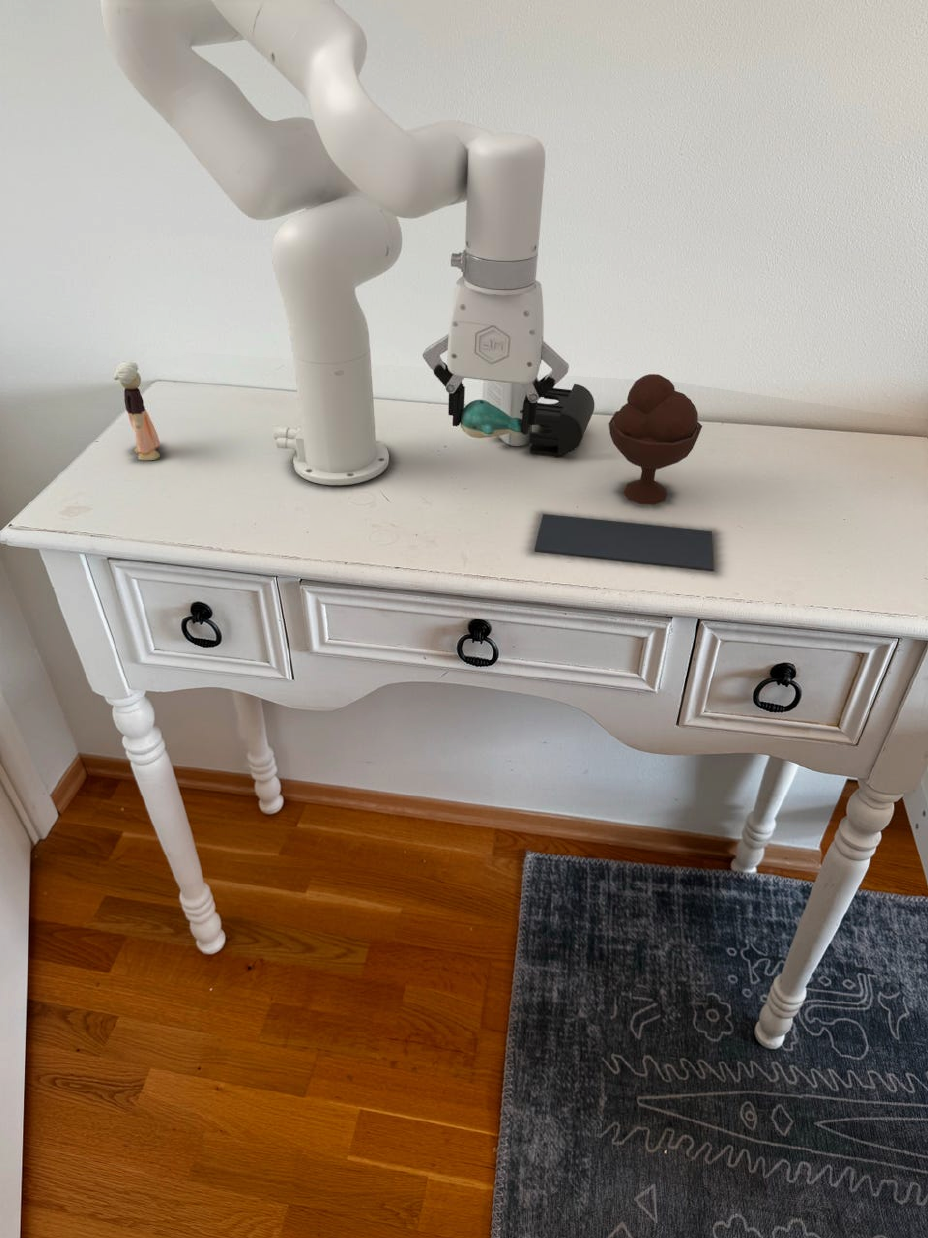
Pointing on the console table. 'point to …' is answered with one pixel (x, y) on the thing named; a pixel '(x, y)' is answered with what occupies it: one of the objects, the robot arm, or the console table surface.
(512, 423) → the whale figurine
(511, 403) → the photo printer
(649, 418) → the ice cream bowl
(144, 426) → the grandmother figurine
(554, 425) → the end cap
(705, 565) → the plate
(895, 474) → the console table surface
